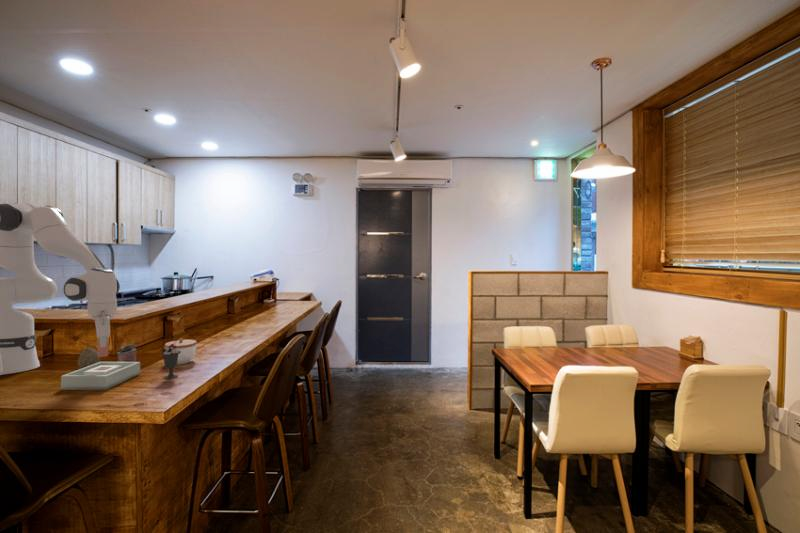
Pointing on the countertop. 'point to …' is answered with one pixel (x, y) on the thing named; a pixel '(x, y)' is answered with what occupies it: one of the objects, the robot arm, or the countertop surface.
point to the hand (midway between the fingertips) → (102, 345)
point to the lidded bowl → (184, 349)
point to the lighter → (127, 353)
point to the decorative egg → (88, 358)
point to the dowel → (102, 349)
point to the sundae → (170, 359)
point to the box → (100, 376)
